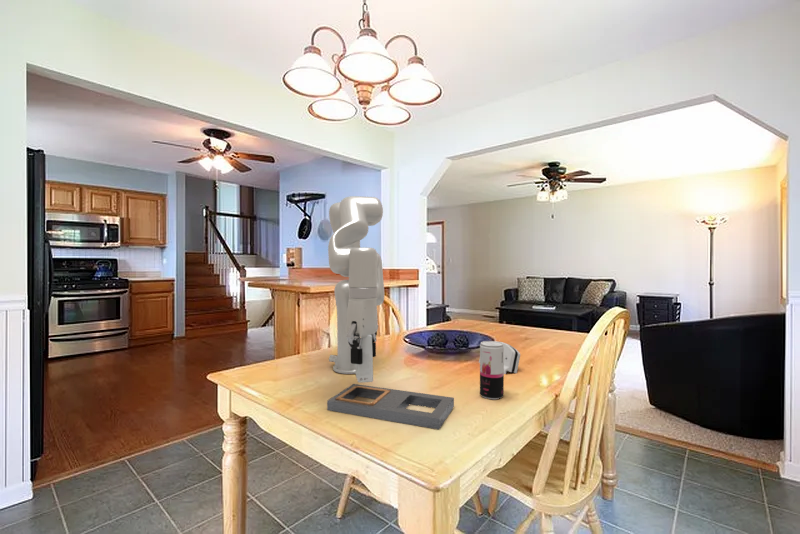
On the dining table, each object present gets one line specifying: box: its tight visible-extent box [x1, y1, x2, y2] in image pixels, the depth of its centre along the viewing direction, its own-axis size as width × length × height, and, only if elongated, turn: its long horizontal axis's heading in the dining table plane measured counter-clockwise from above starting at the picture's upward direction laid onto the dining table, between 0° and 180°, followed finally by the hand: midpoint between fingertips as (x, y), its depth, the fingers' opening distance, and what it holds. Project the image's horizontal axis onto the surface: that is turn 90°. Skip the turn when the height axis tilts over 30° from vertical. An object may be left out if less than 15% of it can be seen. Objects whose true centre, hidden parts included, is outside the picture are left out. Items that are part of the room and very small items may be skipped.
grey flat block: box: [326, 383, 455, 430], centre depth 99 cm, size 30×14×3 cm, turn 68°
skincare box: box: [355, 335, 374, 384], centre depth 102 cm, size 6×4×12 cm
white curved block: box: [478, 341, 521, 374], centre depth 136 cm, size 17×5×10 cm, turn 20°
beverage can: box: [479, 340, 505, 400], centre depth 108 cm, size 6×6×15 cm
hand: (363, 359), depth 102 cm, fingers closed on skincare box, 7 cm apart
